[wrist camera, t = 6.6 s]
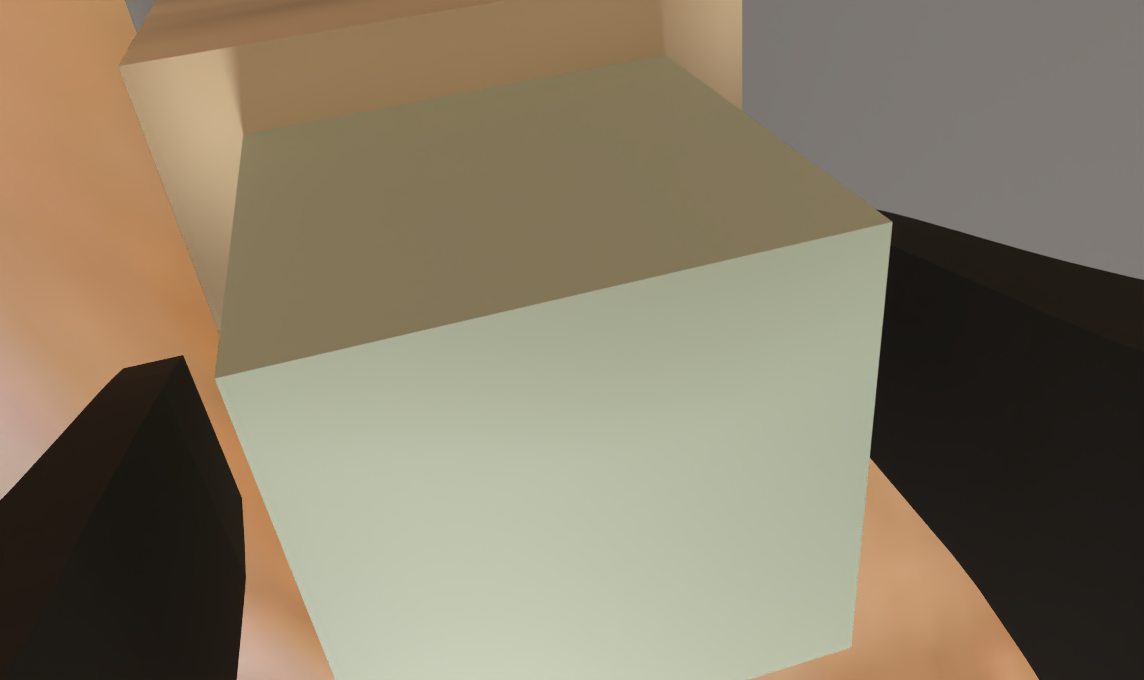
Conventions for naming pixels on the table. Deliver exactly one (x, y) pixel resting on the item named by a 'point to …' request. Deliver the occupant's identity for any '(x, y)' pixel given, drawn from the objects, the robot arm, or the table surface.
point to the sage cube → (557, 381)
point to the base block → (369, 74)
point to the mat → (962, 112)
